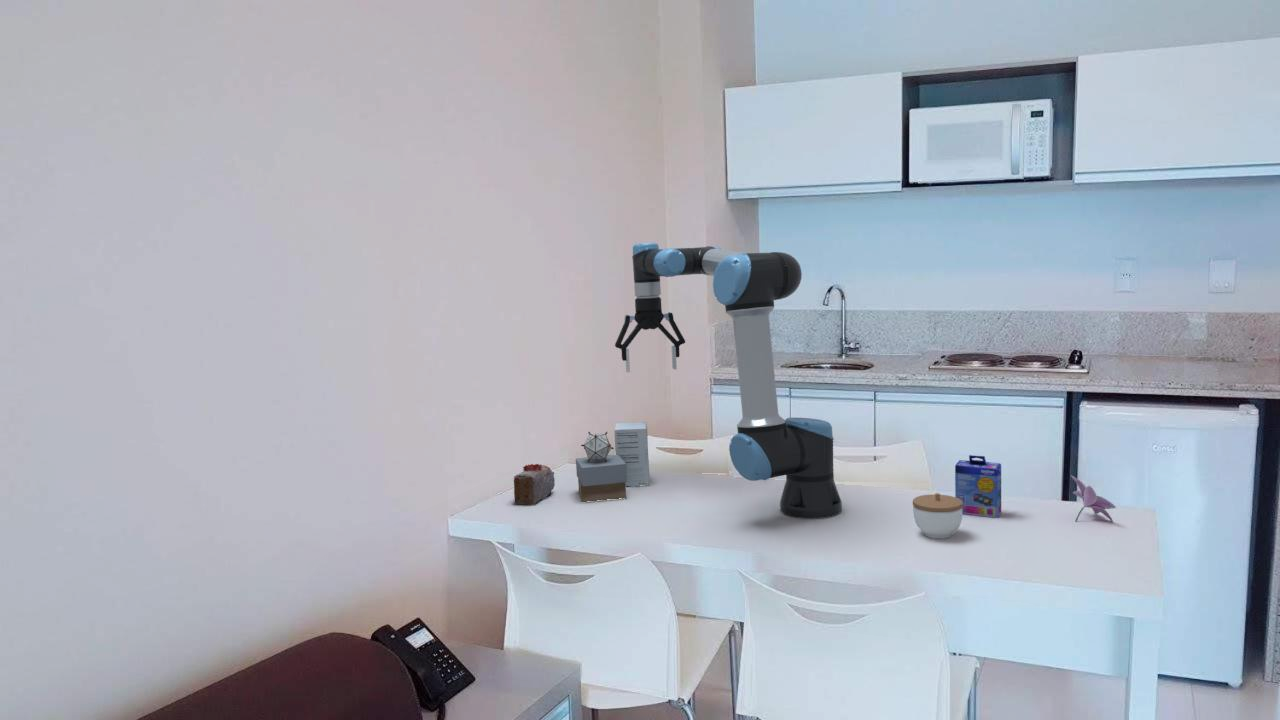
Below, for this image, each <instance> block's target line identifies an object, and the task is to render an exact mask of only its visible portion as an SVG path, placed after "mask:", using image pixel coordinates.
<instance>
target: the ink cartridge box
mask: <svg viewBox="0 0 1280 720" xmlns="http://www.w3.org/2000/svg"><path fill="white" fill-rule="evenodd" d="M978 459H980V460H978ZM954 469H955V470H954V471H955V472H954V473H955V474H954V483H955V486H954V487H955V488H954V489H955V490H954V492H955V494H954V497H956V498H959V499H961V500H962V501H963V507H962V515H966V516H967V515H968V516H978V517H984V518H985V517H986V518H993V519H994V518H996V519H997V518H998V517H999V516H1000V515H1001V514H1002V512H1003V511H1002V463H1000V462H989V461H987V460H986V456H984V455H971V454H970V455H968V460H966V459H965V460H960V459H959V460H958V462H957V463H955V465H954Z"/></svg>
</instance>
